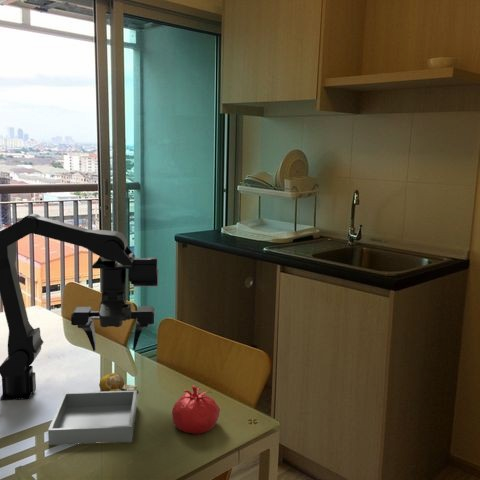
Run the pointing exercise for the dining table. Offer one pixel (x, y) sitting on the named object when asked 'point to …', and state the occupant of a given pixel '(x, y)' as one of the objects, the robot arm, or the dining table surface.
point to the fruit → (114, 383)
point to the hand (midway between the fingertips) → (114, 350)
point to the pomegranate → (195, 412)
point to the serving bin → (94, 418)
